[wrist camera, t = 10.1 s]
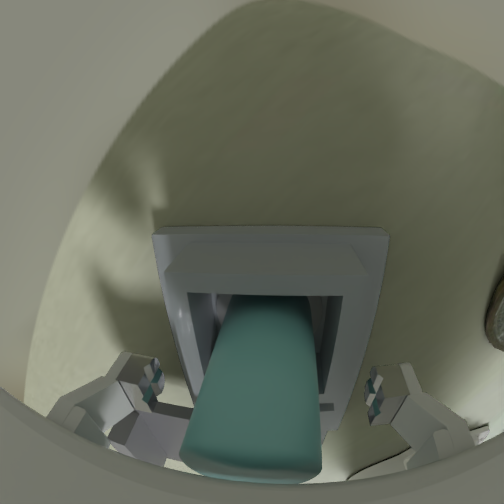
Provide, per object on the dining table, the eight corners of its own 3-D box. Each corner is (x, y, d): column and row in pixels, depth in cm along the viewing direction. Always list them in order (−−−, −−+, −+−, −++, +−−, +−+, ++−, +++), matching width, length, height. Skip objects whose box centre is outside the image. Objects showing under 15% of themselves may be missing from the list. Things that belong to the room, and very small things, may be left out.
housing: (161, 227, 13) (119, 260, 10) (381, 227, 12) (417, 264, 8) (203, 413, 20) (191, 453, 16) (336, 418, 18) (340, 460, 14)
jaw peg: (313, 277, 12) (335, 443, 5) (307, 343, 13) (311, 488, 6) (225, 275, 12) (161, 428, 5) (232, 341, 14) (194, 478, 7)
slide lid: (124, 393, 13) (101, 433, 10) (246, 414, 12) (237, 467, 9) (158, 446, 16) (145, 479, 13) (252, 462, 15) (246, 499, 12)
